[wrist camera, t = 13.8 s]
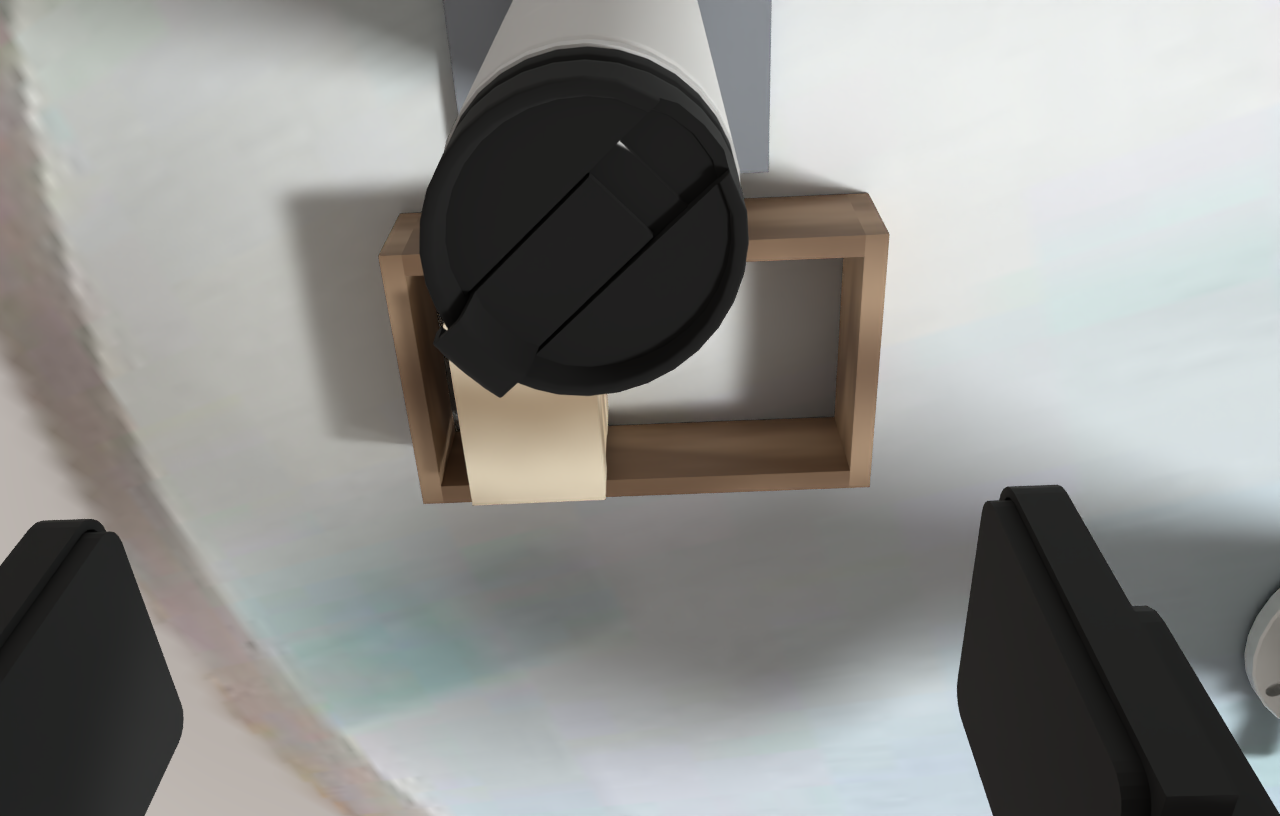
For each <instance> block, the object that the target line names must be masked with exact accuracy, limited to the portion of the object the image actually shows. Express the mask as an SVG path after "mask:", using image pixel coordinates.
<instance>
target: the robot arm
mask: <svg viewBox="0 0 1280 816" xmlns="http://www.w3.org/2000/svg"><path fill="white" fill-rule="evenodd" d="M1244 657H1245V671H1246V674H1247V676H1248V679H1249V681H1250V684H1251V686H1252V688H1253V689H1254V691H1255V692H1256V694H1257V695H1258V697H1259V698H1260V700H1261V701H1262V703H1263V705H1264V706H1265V707H1266V708H1267V709H1268V710H1269V711H1270V712H1271V713H1272V714H1273V715H1275V716H1276V717H1277V718H1278V719H1280V588H1279V589H1278V590H1277V591H1276V592H1275V593H1274V594H1273V595H1272V596H1271V597H1270V599H1269V600H1268V601H1267V603H1266V604H1265V606H1264V607H1263V608H1262V610H1261V611H1260V613H1259V614H1258V615H1257V617H1256V619H1255V621H1254V623H1253V626H1252V628H1251V630H1250V632H1249V634H1248V638H1247V643H1246V648H1245V653H1244ZM957 698H958V707H959V712H960V716H961V720H962V723H963V726H964V729H965V732H966V735H967V738H968V741H969V744H970V747H971V750H972V753H973V756H974V759H975V762H976V765H977V768H978V771H979V774H980V777H981V780H982V783H983V786H984V789H985V793H986V796H987V799H988V802H989V805H990V808H991V811H992V814H993V816H1280V814H1279V812H1278V811H1277V809H1276V807H1275V806H1274V804H1273V802H1272V801H1271V799H1270V797H1269V796H1268V794H1267V792H1266V791H1265V789H1264V787H1263V786H1262V784H1261V782H1260V781H1259V779H1258V777H1257V776H1256V774H1255V772H1254V771H1253V769H1252V767H1251V766H1250V764H1249V762H1248V761H1247V759H1246V757H1245V756H1244V754H1243V752H1242V751H1241V749H1240V747H1239V746H1238V744H1237V742H1236V741H1235V739H1234V737H1233V736H1232V734H1231V732H1230V731H1229V729H1228V727H1227V726H1226V724H1225V722H1224V721H1223V719H1222V717H1221V716H1220V714H1219V712H1218V711H1217V709H1216V707H1215V706H1214V704H1213V702H1212V701H1211V699H1210V697H1209V696H1208V694H1207V692H1206V691H1205V689H1204V687H1203V686H1202V684H1201V682H1200V681H1199V679H1198V677H1197V676H1196V674H1195V672H1194V671H1193V669H1192V667H1191V666H1190V664H1189V662H1188V661H1187V659H1186V657H1185V656H1184V654H1183V652H1182V651H1181V649H1180V647H1179V646H1178V644H1177V642H1176V641H1175V639H1174V637H1173V635H1172V634H1171V632H1170V630H1169V629H1168V627H1167V625H1166V624H1165V622H1164V621H1163V620H1162V618H1161V617H1160V616H1159V614H1158V613H1157V612H1156V611H1155V610H1153V609H1152V608H1150V607H1148V606H1131V604H1130V602H1129V601H1128V599H1127V597H1126V595H1125V594H1124V592H1123V590H1122V588H1121V587H1120V585H1119V583H1118V581H1117V580H1116V578H1115V576H1114V574H1113V573H1112V571H1111V569H1110V567H1109V566H1108V564H1107V562H1106V560H1105V559H1104V557H1103V555H1102V553H1101V552H1100V550H1099V548H1098V546H1097V545H1096V543H1095V541H1094V539H1093V538H1092V536H1091V534H1090V532H1089V531H1088V529H1087V527H1086V525H1085V524H1084V522H1083V520H1082V518H1081V517H1080V515H1079V513H1078V511H1077V510H1076V508H1075V506H1074V504H1073V503H1072V501H1071V499H1070V497H1069V496H1068V494H1067V492H1066V491H1065V490H1064V488H1063V487H1062V486H1059V485H1041V486H1012V487H1006V488H1004V489H1003V491H1002V493H1001V495H1000V499H999V501H987V502H985V504H984V506H983V510H982V516H981V523H980V529H979V536H978V543H977V550H976V557H975V564H974V571H973V578H972V585H971V591H970V598H969V605H968V612H967V619H966V626H965V633H964V640H963V647H962V653H961V660H960V667H959V674H958V682H957ZM182 729H183V709H182V705H181V702H180V700H179V697H178V694H177V691H176V689H175V686H174V683H173V681H172V678H171V675H170V672H169V670H168V667H167V664H166V661H165V659H164V656H163V653H162V650H161V648H160V645H159V642H158V639H157V637H156V634H155V631H154V629H153V626H152V623H151V620H150V618H149V615H148V612H147V609H146V607H145V604H144V601H143V599H142V596H141V593H140V590H139V588H138V585H137V582H136V579H135V577H134V574H133V571H132V569H131V566H130V563H129V560H128V558H127V555H126V552H125V549H124V547H123V544H122V542H121V540H120V538H119V536H118V535H117V534H116V533H114V532H106V530H105V529H104V527H103V525H102V524H101V523H100V522H98V521H97V520H93V519H76V520H48V521H40V522H37V523H35V524H34V525H33V526H32V527H31V528H30V529H29V530H28V531H27V533H26V534H25V535H24V537H23V538H22V539H21V540H20V542H19V543H18V544H17V545H16V546H15V548H14V549H13V550H12V552H11V553H10V554H9V556H8V557H7V558H6V559H5V560H4V562H3V563H2V564H1V566H0V816H144V815H145V813H146V811H147V809H148V807H149V805H150V803H151V801H152V798H153V796H154V794H155V792H156V790H157V788H158V786H159V784H160V781H161V779H162V777H163V775H164V773H165V771H166V769H167V766H168V764H169V762H170V760H171V758H172V756H173V754H174V751H175V749H176V747H177V745H178V743H179V740H180V737H181V734H182Z"/></svg>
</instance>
